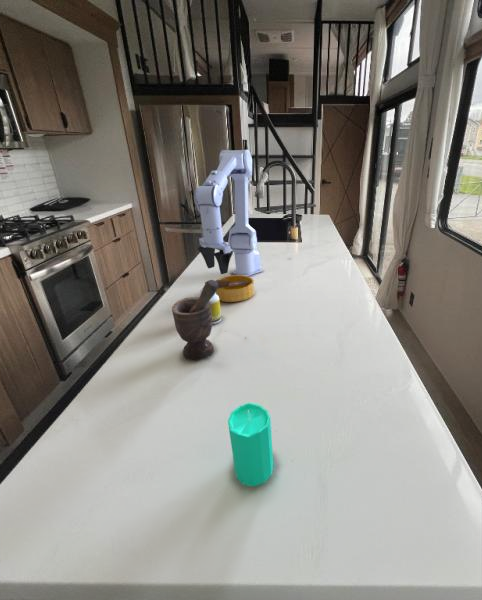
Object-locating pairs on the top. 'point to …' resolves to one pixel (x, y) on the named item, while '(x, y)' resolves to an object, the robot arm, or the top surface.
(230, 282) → the bowl
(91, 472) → the top surface
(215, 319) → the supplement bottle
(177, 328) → the mortar and pestle
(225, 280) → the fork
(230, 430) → the candle
